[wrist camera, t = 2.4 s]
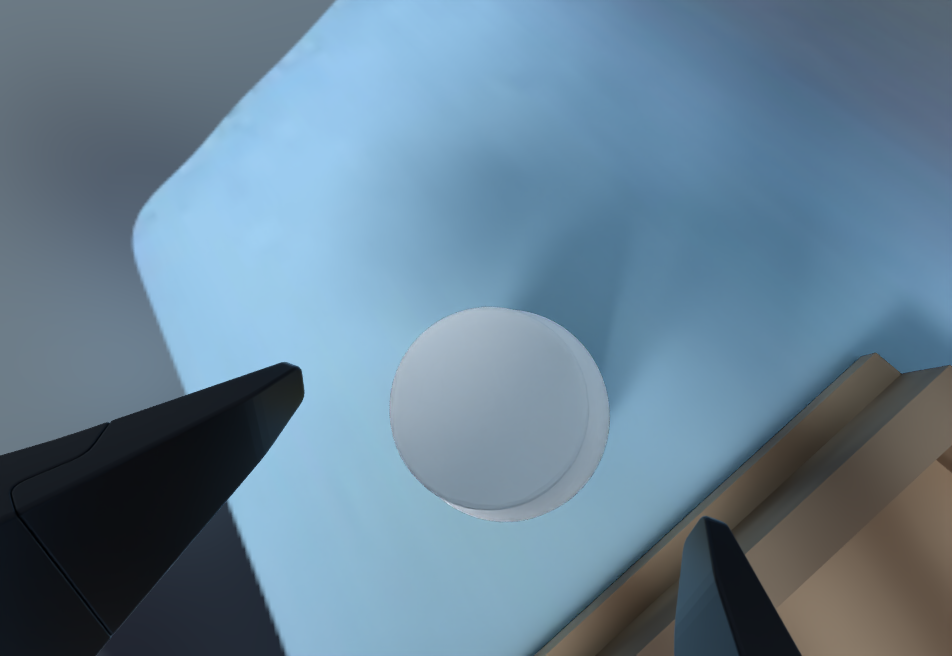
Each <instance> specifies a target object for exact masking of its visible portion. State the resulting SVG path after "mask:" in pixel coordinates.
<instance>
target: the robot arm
mask: <svg viewBox="0 0 952 656" xmlns="http://www.w3.org/2000/svg"><path fill="white" fill-rule="evenodd" d="M303 398H304V384H303V376H302V370H301V369H300V367H298V366H296V365H293V364H290V363H287V362H282V363H278V364H275V365H273V366H270V367H267V368H264V369H261V370H258V371H255V372H252V373H249V374H246V375H243V376H241V377H238V378H235V379H232V380H229V381H226V382H223V383H220V384H217V385H214V386H211V387H208V388H206V389H203V390H200V391H197V392H194V393H191V394H188V395H185V396H182V397H179V398H176V399H174V400H171V401H168V402H165V403H162V404H159V405H156V406H153V407H150V408H147V409H144V410H141V411H139V412H136V413H133V414H130V415H127V416H124V417H121V418H118V419H115V420H113V421H111V422H110V423H109V422H106V423H103V424H100V425H98V426H95V427H92V428H89V429H86V430H83V431H80V432H77V433H74V434H71V435H67V436H64V437H61V438H58V439H56V440H52V441H48V442H45V443H42V444H39V445H35V446H32V447H29V448H25V449H21V450H18V451H14V452H11V453H7V454H4V455H0V656H96V655H97V654H98V653H99V651H100V650H101V649H102V648H103V647H104V646H105V644H106V643H107V642H108V641H109V640H110V638H111V635H113V634H114V633H115V632H116V631H117V630H118V629H119V627H120V626H121V625H122V624H123V623H124V622H125V620H126V619H127V618H128V617H129V616H130V614H131V613H132V612H133V611H134V610H135V609H136V607H137V606H138V605H139V604H140V603H141V601H142V600H143V599H144V598H145V597H146V596H147V594H148V593H149V592H150V591H151V590H152V588H153V587H154V586H155V585H156V584H157V582H158V581H159V580H160V579H161V578H162V576H163V575H164V574H165V573H166V572H167V571H168V570H169V568H170V567H171V566H172V565H173V564H174V562H175V561H176V560H177V559H178V558H179V557H180V555H181V554H182V553H183V552H184V551H185V549H186V548H187V547H188V546H189V545H190V544H191V542H192V541H193V540H194V539H195V538H196V536H197V535H198V534H199V533H200V532H201V530H202V529H203V528H204V527H205V526H206V524H207V523H208V522H209V521H210V520H211V519H212V518H213V516H214V515H215V514H216V513H217V511H218V510H219V509H220V508H221V507H222V506H223V505H224V503H225V502H226V501H227V500H228V499H229V497H230V496H231V495H232V494H233V493H234V492H235V490H236V489H237V488H238V487H239V486H240V484H241V483H242V482H243V481H244V480H245V479H246V477H247V476H248V475H249V474H250V473H251V471H252V470H253V469H254V468H255V467H256V466H257V464H258V463H259V462H260V461H261V459H262V458H263V457H264V456H265V455H266V453H267V452H268V450H269V449H270V448H271V446H272V445H273V443H274V442H275V440H276V439H277V438H278V436H279V435H280V433H281V432H282V430H283V429H284V427H285V426H286V424H287V423H288V422H289V420H290V419H291V417H292V416H293V414H294V413H295V411H296V410H297V408H298V407H299V406H300V404H301V402H302V400H303ZM674 656H802V655H801V653H800V651H799V649H798V648H797V646H796V644H795V642H794V640H793V639H792V637H791V635H790V633H789V632H788V630H787V628H786V626H785V625H784V623H783V621H782V619H781V618H780V616H779V614H778V612H777V611H776V609H775V607H774V605H773V603H772V602H771V600H770V598H769V596H768V595H767V593H766V591H765V589H764V588H763V586H762V584H761V582H760V581H759V579H758V577H757V575H756V574H755V572H754V570H753V568H752V566H751V565H750V563H749V561H748V559H747V558H746V556H745V554H744V552H743V551H742V549H741V547H740V545H739V544H738V542H737V540H736V538H735V537H734V535H733V533H732V531H731V529H730V528H729V526H728V525H727V524H726V523H724V522H722V521H720V520H717V519H714V518H711V517H709V516H703V517H701V518H700V519H699V521H698V522H697V524H696V525H695V526H694V528H693V529H692V531H691V532H690V534H689V535H688V537H687V538H686V540H685V543H684V547H683V554H682V563H681V572H680V581H679V590H678V599H677V608H676V617H675V628H674Z"/></svg>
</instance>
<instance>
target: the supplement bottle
mask: <svg viewBox="0 0 952 656" xmlns="http://www.w3.org/2000/svg"><path fill="white" fill-rule="evenodd" d="M390 424H391V429H392V434H393V438H394V441H395V444H396V447H397V449H398V452H399V454H400V456H401V458H402V460H403V461H404V463H405V465H406V466H407V468H408V469H409V470H410V472H411V473H412V474H413V475H414V477H415V478H416V479H417V480H418V481H419V482H420V483H421V484H423V485H424V486H425V487H426V488H427V489H428V490H429V491H431V492H432V493H434V494H435V495H436V496H438V497H439V498H441V499H442V500H443V501H445V502H446V503H447V504H449V505H450V506H452V507H454V508H455V509H457V510H459V511H461V512H463V513H466V514H468V515H470V516H473V517H476V518H479V519H484V520H489V521H496V522H515V521H522V520H528V519H531V518H535V517H538V516H540V515H543V514H546V513H548V512H550V511H552V510H554V509H556V508H558V507H560V506H561V505H563V504H564V503H566V502H567V501H569V500H570V499H571V498H572V497H574V496H575V495H576V494H577V493H578V492H579V491H580V490H581V489H582V488H583V487H584V485H585V484H586V483H587V482H588V480H589V479H590V478H591V476H592V475H593V473H594V471H595V470H596V468H597V466H598V464H599V462H600V460H601V457H602V455H603V452H604V449H605V446H606V443H607V438H608V433H609V424H610V414H609V401H608V395H607V391H606V387H605V383H604V380H603V378H602V375H601V373H600V371H599V368H598V366H597V365H596V363H595V361H594V360H593V358H592V356H591V355H590V353H589V352H588V350H587V349H586V348H585V347H584V345H583V344H582V343H581V342H580V341H579V340H578V339H577V338H576V337H575V336H574V335H573V334H571V333H570V332H569V331H567V330H566V329H565V328H564V327H562V326H560V325H559V324H557V323H556V322H554V321H552V320H550V319H548V318H545V317H543V316H540V315H537V314H534V313H530V312H526V311H520V310H512V309H508V308H501V307H478V308H471V309H466V310H463V311H459V312H456V313H454V314H452V315H449V316H447V317H445V318H443V319H441V320H439V321H438V322H436V323H435V324H433V325H432V326H430V327H429V328H428V329H427V330H425V331H424V332H423V333H422V334H421V335H420V336H419V337H418V338H417V339H416V340H415V341H414V342H413V344H412V345H411V346H410V347H409V349H408V351H407V352H406V353H405V355H404V357H403V358H402V360H401V362H400V364H399V366H398V369H397V371H396V374H395V377H394V380H393V384H392V388H391V394H390Z"/></svg>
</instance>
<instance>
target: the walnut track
mask: <svg viewBox="0 0 952 656" xmlns="http://www.w3.org/2000/svg"><path fill="white" fill-rule="evenodd" d="M703 516H709V517H711V518H714V519H717V520H720V521H722V522H724V523H726V524H727V525H728V526H729V528H730V529H731V531H732V533H733V535H734V537H735V538H736V540H737V542H738V544H739V545H740V547H741V549H742V551H743V552H744V554H745V556H746V558H747V559H748V561H749V563H750V565H751V566H752V568H753V570H754V572H755V574H756V575H757V577H758V579H759V581H760V582H761V584H762V586H763V588H764V589H765V591H766V593H767V595H768V596H769V598H770V600H771V602H772V603H773V605H774V607H775V609H776V611H777V612H778V614H779V616H780V618H781V619H782V621H783V623H784V625H785V626H786V628H787V630H788V632H789V633H790V635H791V637H792V639H793V640H794V642H795V644H796V646H797V648H798V649H799V651H800V653H801V655H802V656H952V366H951V365H947V366H942V367H936V368H930V369H925V370H919V371H914V372H908V373H903V374H901V373H900V372H899V371H898V370H896V369H895V368H894V367H893V366H892V365H890V364H889V363H888V362H887V361H886V360H884V359H883V358H882V357H881V356H880V355H878V354H877V353H872V354H869V355H865V356H861V357H860V358H859V359H858V360H857V361H856V362H855V363H853V364H852V365H851V366H850V367H849V368H848V369H847V370H846V371H845V372H844V373H843V374H841V375H840V376H839V377H838V378H837V379H836V380H835V381H834V382H833V383H832V384H830V385H829V386H828V387H827V388H826V389H825V390H824V391H823V392H822V393H821V394H820V395H818V396H817V397H816V398H815V399H814V400H813V401H812V402H811V403H810V404H809V405H808V406H806V407H805V408H804V409H803V410H802V411H801V412H800V413H799V414H798V415H797V416H795V417H794V418H793V419H792V420H791V421H790V422H789V423H788V424H787V425H786V426H785V427H783V428H782V429H781V430H780V431H779V432H778V433H777V434H776V435H775V436H774V437H773V438H771V439H770V440H769V441H768V442H767V443H766V444H765V445H764V446H763V447H762V448H760V449H759V450H758V451H757V452H756V453H755V454H754V455H753V456H752V457H751V458H750V459H748V460H747V461H746V462H745V463H744V464H743V465H742V466H741V467H740V468H739V469H738V470H736V471H735V472H734V473H733V474H732V475H731V476H730V477H729V478H728V479H727V480H725V481H724V482H723V483H722V484H721V485H720V486H719V487H718V488H717V489H716V490H715V491H713V492H712V493H711V494H710V495H709V496H708V497H707V498H706V499H705V500H704V501H703V502H701V503H700V504H699V505H698V506H697V507H696V508H695V509H694V510H693V511H692V512H691V513H689V514H688V515H687V516H686V517H685V518H684V519H683V520H682V521H681V522H680V523H678V524H677V525H676V526H675V527H674V528H673V529H672V530H671V531H670V532H669V533H668V534H666V535H665V536H664V537H663V538H662V539H661V540H660V541H659V542H658V543H657V544H656V545H654V546H653V547H652V548H651V549H650V550H649V551H648V552H647V553H646V554H645V555H643V556H642V557H641V558H640V559H639V560H638V561H637V562H636V563H635V564H634V565H633V566H631V567H630V568H629V569H628V570H627V571H626V572H625V573H624V574H623V575H622V576H621V577H619V578H618V579H617V580H616V581H615V582H614V583H613V584H612V585H611V586H610V587H608V588H607V589H606V590H605V591H604V592H603V593H602V594H601V595H600V596H599V597H598V598H596V599H595V600H594V601H593V602H592V603H591V604H590V605H589V606H588V607H587V608H586V609H584V610H583V611H582V612H581V613H580V614H579V615H578V616H577V617H576V618H575V619H574V620H572V621H571V622H570V623H569V624H568V625H567V626H566V627H565V628H564V629H563V630H561V631H560V632H559V633H558V634H557V635H556V636H555V637H554V638H553V639H552V640H551V641H549V642H548V643H547V644H546V645H545V646H544V647H543V648H542V649H541V650H540V651H539V652H537V653H536V654H535V655H534V656H674V628H675V617H676V608H677V599H678V590H679V581H680V572H681V563H682V554H683V547H684V543H685V540H686V538H687V537H688V535H689V534H690V532H691V531H692V529H693V528H694V526H695V525H696V524H697V522H698V521H699V519H700V518H701V517H703Z"/></svg>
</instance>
